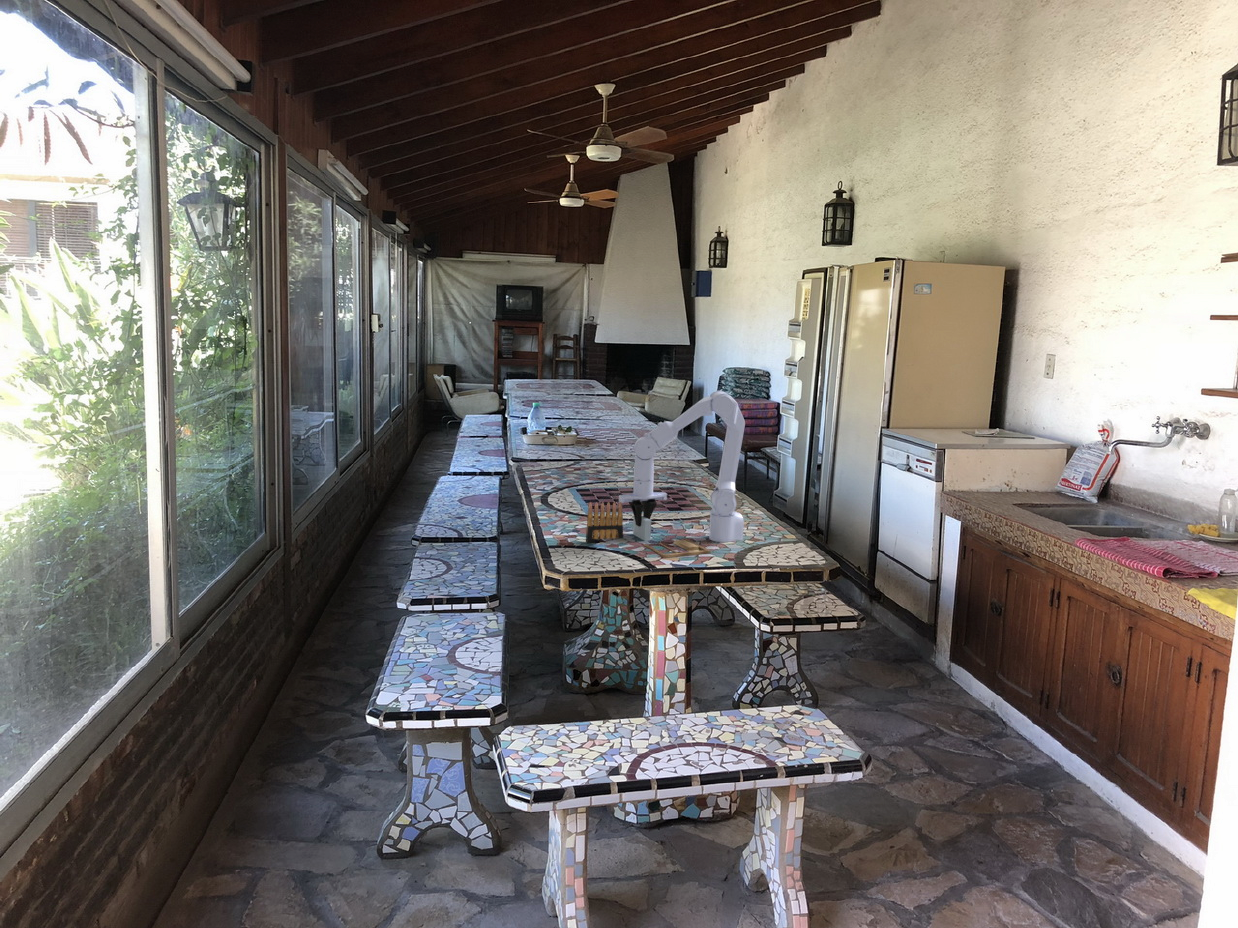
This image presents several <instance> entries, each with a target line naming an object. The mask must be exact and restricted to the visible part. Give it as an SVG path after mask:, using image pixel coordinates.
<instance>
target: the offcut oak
mask: <svg viewBox="0 0 1238 928" xmlns="http://www.w3.org/2000/svg"><path fill="white" fill-rule="evenodd" d="M673 544H674V545H676V546H677V547H680V548H681V547H683V548H685V549H687V550H689V551H691V550H699V546H697V545H694V544H692V543H690V542H688V541H686V540H684V539H677V540H673ZM683 548H682V549H683ZM685 549H684V550H685ZM687 550H686V551H687ZM689 551H688V552H689Z"/></svg>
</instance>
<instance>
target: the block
mask: <svg viewBox="0 0 1238 928" xmlns="http://www.w3.org/2000/svg"><path fill="white" fill-rule="evenodd" d="M632 517H633V521H632V522H633V524H632V535H633V536H635V537H637V538H639V539H641V540H642V541H644V542H649V541H651V540H652V539H651V535H652V533H651V532H652V520H651V518H650V519H648V518H646V517H644V516H643V515H642V518H641V526H637V525H636V522H635V517H634V516H632Z"/></svg>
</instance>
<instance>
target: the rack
mask: <svg viewBox="0 0 1238 928" xmlns="http://www.w3.org/2000/svg"><path fill="white" fill-rule="evenodd" d="M683 540H686V541H688V542H690V543H692V544H694V545H697V546H699V550H700V551H692V552H689V551H685V552H677V551H676V550H674V549H672V548H671V547H669V546H667V545H665V544H663V543H662V542H658V545H661V546H662V547H664V548H666V549H667V550H669V551H671V552H673V553H663V552H661V551H659V550H658V549H656V548H655V547H653V546H650V545H649V544H647V543H645V544H643V546H644V547H646V549H649V550H651V551H653V552H654V553H656V554H658V555H660V556H661V558H663V559H668V558H669V559H671V558H678V557H688V556H696V555H697V556H699V555H707V554H709V555H710V554H711V550H710V549H708V548H706V547H704V546H702V545H700V544H698V543H695V542H694V541H692V540H690V539H688V538H683Z"/></svg>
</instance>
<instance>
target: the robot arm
mask: <svg viewBox="0 0 1238 928" xmlns="http://www.w3.org/2000/svg"><path fill="white" fill-rule="evenodd" d="M713 412H714V413H715V414H716V415H717V416H718V417H720V418H721V419H722V420H723V422H724V423H725V424H726V433H725V436H724V437H725V438H724V443H723V449H722V450H723V451H722V456H721V460H720V461H721V462H720V467H719V474H718V478H717V481H716V483H715V488H714V490H713V491H712V492H711V494H710V502H711V505H712V506H713V507H712V508H711V509H710V512H709V515H710V516H709V517H710V518H709V535H708V539H709V540H711V541H713V542H718V543H730V542H735V541H743V540H744V527H745V523H744V517H743V515H742V514H741V513H740V512H737V511H736V508H737V499H736V479H737V473H738V468H739V463H740V462H739V461H740V455H741V450H742V449H741V448H742V444H743V438H744V431H745V426H746V421H745V419H744V416H743V414H742V411H741V409H740V407H739V404H738V402H737V401H736V400H735V399H734V398H733V397H732V396H731V395H730V394H728V393H727V392H725V391H723V390H715V391H713V392H712V393H711V394H710V395H707V396H705V397H703V398H701V399H700V400H699V401H697V402H696V403H694V404H693V405H692V406H691V407H689V408H688V409H686V411H684V412H683V413H681V414H680V415H679V416H678V417H677V418H675V419H674V420H672V421H667V420H666V421H663V422H662V421H660V422H658V423H657V427H655V428H654V429H652V430H651V431H649V432H645V433H644V434H643V436H641V437H640V438H638V439H637V440H636V441H635V443H634V446H633V451H634V453H635V456H634V464H633V489H632V491H633V492H631V493H626V494H620V495H618V503H619V502H620V503H622V504H624V503H628V504H629V506H630V508H631V510H632V514H633V517H635V522H636V525H637V526H641V518H642V516H644V517H646V518H648V519H650V520H651V517H652V515H653V513H654V511H655V509H656V508H657V505H658V502H657V501H661V500H663V501H666V500H668V493H666V492H664V491H661V492H657V491H656V492H655V491H654V479H655V477H654V475H655V474H654V471H655V463H654V457H655V455H656V452H657V451H660V450H661V449H663V448H664V447H666V446H667V445H669V444H670V443H672V442H673V441H674V440H676V439H677V438H678V434H679V431H681V430H683V429H684V428H685V427H687V426H688V425H690V424H692V423H693V422H694V421H696V420H697V419H699V418H701V417H704V416H708V417H709V416H713Z"/></svg>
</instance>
